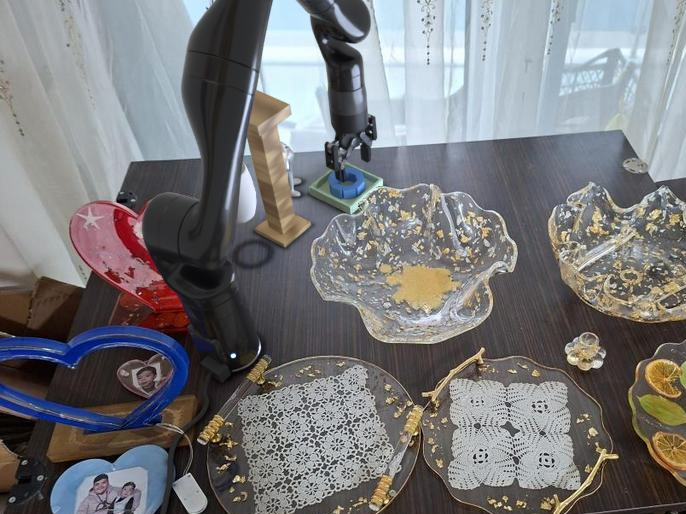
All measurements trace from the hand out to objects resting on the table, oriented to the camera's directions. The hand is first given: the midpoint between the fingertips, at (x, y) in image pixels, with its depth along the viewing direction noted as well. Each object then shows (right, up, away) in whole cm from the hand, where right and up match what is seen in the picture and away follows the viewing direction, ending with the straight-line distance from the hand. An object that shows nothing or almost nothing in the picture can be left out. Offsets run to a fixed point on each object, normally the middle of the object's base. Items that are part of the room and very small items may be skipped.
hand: (354, 170), depth 132 cm
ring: (-2, -4, +1) cm, 4 cm away
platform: (-14, -14, -7) cm, 21 cm away
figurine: (-14, -4, +1) cm, 14 cm away
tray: (-2, -4, +1) cm, 5 cm away
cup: (-19, -20, -11) cm, 29 cm away
